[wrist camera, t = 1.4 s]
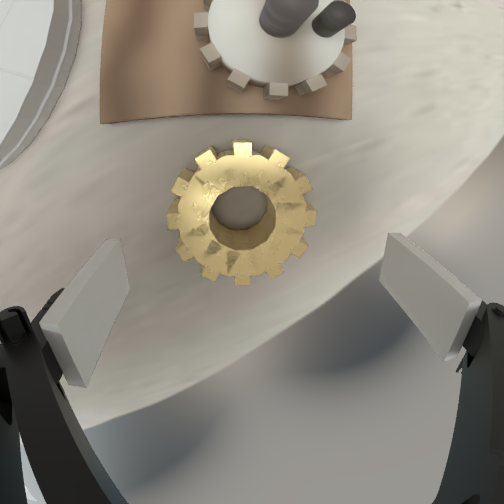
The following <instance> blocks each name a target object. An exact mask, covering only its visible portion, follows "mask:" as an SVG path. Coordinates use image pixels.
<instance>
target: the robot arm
mask: <svg viewBox="0 0 504 504" xmlns="http://www.w3.org/2000/svg"><path fill="white" fill-rule="evenodd" d="M379 281H380V282H381V284H382V285H383V286H384V287H385V288H386V289H387V290H388V292H389V293H390V294H391V295H392V296H393V298H394V299H395V300H396V301H397V303H398V304H399V305H400V306H401V307H402V308H403V310H404V311H405V312H406V314H407V315H408V316H409V317H410V318H411V320H412V321H413V322H414V323H415V325H416V326H417V327H418V328H419V330H420V331H421V332H422V334H423V335H424V336H425V338H426V339H427V340H428V341H429V343H430V344H431V345H432V347H433V348H434V349H435V351H436V352H437V353H438V355H439V356H440V357H441V359H442V360H443V361H446V360H450V359H453V358H456V357H457V355H458V353H459V351H460V349H461V347H462V345H463V347H464V348H465V349H466V350H467V351H466V353H465V355H464V357H463V358H462V361H461V362H460V364H459V366H458V368H457V370H456V372H458V371H459V370H460V369H461V368H462V372H461V374H462V379H461V389H460V396H459V404H458V411H457V417H456V423H455V428H454V433H453V438H452V443H451V448H450V452H449V456H448V460H447V464H446V468H445V472H444V475H443V478H442V482H441V485H440V489H439V491H438V494H437V497H436V499H435V500H434V502H433V503H432V504H504V306H502V305H500V304H498V303H489V304H488V305H487V304H486V303H485V302H484V301H482V300H481V299H480V298H479V297H478V296H477V295H476V294H475V293H474V292H472V291H471V290H470V289H469V288H468V287H467V286H465V285H464V284H463V283H462V282H461V281H460V280H459V279H457V278H456V277H455V276H454V275H453V274H451V273H450V272H449V271H448V270H447V269H445V268H444V267H443V266H442V265H441V264H439V263H438V262H437V261H436V260H434V259H433V258H432V257H431V256H429V255H428V254H427V253H426V252H424V251H423V250H422V249H420V248H419V247H418V246H417V245H415V244H414V243H413V242H411V241H410V240H409V239H407V238H406V237H405V236H403V235H402V234H401V233H388V237H387V242H386V248H385V253H384V258H383V263H382V268H381V273H380V277H379ZM129 291H130V285H129V280H128V275H127V270H126V265H125V259H124V254H123V248H122V242H121V238H120V239H106V240H105V242H104V243H103V244H102V245H101V246H100V247H99V248H98V249H97V251H96V252H95V253H94V254H93V255H92V256H91V257H90V259H89V260H88V261H87V262H86V263H85V265H84V266H83V267H82V268H81V269H80V270H79V272H78V273H77V274H76V275H75V277H74V278H73V279H72V280H71V281H70V283H69V284H68V285H67V286H66V288H62V289H60V290H59V291H57V292H56V293H55V294H53V295H52V296H51V298H50V299H49V300H48V301H47V304H45V305H44V307H43V308H42V310H40V312H39V313H38V314H37V316H36V317H35V318H34V320H33V321H32V322H31V323H30V321H29V319H28V316H27V314H26V311H25V310H24V308H22V307H20V306H13V307H10V308H7V309H5V310H3V311H1V312H0V341H1V343H2V344H0V504H27V498H26V493H25V486H24V480H23V472H22V463H21V452H20V436H19V432H20V435H21V438H22V442H23V445H24V448H25V451H26V454H27V456H28V460H29V462H30V465H31V468H32V471H33V473H34V476H35V478H36V481H37V483H38V485H39V488H40V490H41V492H42V495H43V497H44V499H45V501H46V503H47V504H128V503H127V501H126V500H125V499H124V497H123V496H122V494H121V493H120V492H119V490H118V489H117V488H116V486H115V484H114V483H113V481H112V480H111V478H110V477H109V475H108V474H107V472H106V471H105V469H104V467H103V466H102V464H101V462H100V461H99V459H98V457H97V456H96V454H95V452H94V451H93V449H92V447H91V445H90V443H89V442H88V440H87V438H86V436H85V434H84V432H83V430H82V428H81V426H80V424H79V422H78V420H77V418H76V416H75V414H74V412H73V410H72V408H71V406H70V404H69V401H68V399H67V397H66V395H65V392H64V390H63V388H62V386H61V384H60V382H59V380H60V378H61V376H62V374H63V375H64V377H65V379H66V380H67V382H68V384H69V385H73V386H79V387H86V388H87V386H88V383H89V381H90V378H91V376H92V373H93V371H94V368H95V366H96V363H97V361H98V358H99V356H100V354H101V351H102V349H103V347H104V344H105V342H106V340H107V338H108V335H109V333H110V331H111V329H112V327H113V324H114V322H115V320H116V318H117V316H118V314H119V311H120V309H121V307H122V305H123V303H124V301H125V299H126V297H127V295H128V293H129Z"/></svg>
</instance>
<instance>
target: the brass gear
mask: <svg viewBox="0 0 504 504" xmlns="http://www.w3.org/2000/svg"><path fill="white" fill-rule="evenodd" d="M289 159H290V158H289V157H287V156H285V155H284V154H282V153H281V152H279V151H277V150H276V149H273V148H271V147H269V146H267V145H266V146H265V148H264V149H263V151H262V152H261V154H260V153H258V152H256V151H255V150H252V143H251V142H249V141H248V140H232V150H224V151H222V152H221V153H219V154H217V153H216V151H215V150H214V148H213V146H210V147H209V148H207V149H205V150H204V151H202V152H200V153H199V154H198V155H197V157H196V158H195V160H196V162H197V163H198V165H199V166H198V167H197V169H196V171H195V172H193V171H191V170H189V169H187V168H185V169H184V170H183V172H182V173H181V174H180V175H179V177H178V178H177V180H176V182H175V184H174V186H173V188H172V190H171V192H172V193H174V194H176V195H178V196H180V197H182V198H181V199H175V200H174V202H173V203H172V205H171V207H170V209H169V210H168V212H167V214H166V216H167V227H168V230H176V229H179V230H180V238H179V241H178V244H177V247H176V251H177V253H178V254H179V256H180V257H181V258H182V260H183V261H184V262H186V261H187V260H189V259H191V258H193V257H194V258H195V259H196V260H197V262H198V263H199V264H201V265H202V270H201V276H203V277H205V278H207V279H210V280H212V281H214V282H215V280H216V279H217V277H218V275H219V274H220V273H221V274H223V275H225V276H234V278H235V286H245V285H250V284H251V276H253V275H258V274H259V275H260V274H262V273H264V272H266V273H267V274H268V276H269V278H270V279H273V278H275V277H277V276H278V275H280V274H282V273H284V271H283V268H282V266H281V264H280V263H282V262H284V261H286V260H287V258H288V257H289V255H290V254H293V255H294V256H296V257H298V258H300V257H301V256H302V254H303V253H304V251H305V250H306V248H307V247H308V245H307V243H306V242H305V240H304V239H303V237H302V236H303V234H304V226H315V225H316V213H317V210H316V209H315V208H313V207H312V206H311V205H310V204H309V203H308V202H307V201H306V200H305V199H304V197H303V196H302V195H303V194H305V193H307V192H309V191H311V190H312V187H311V185H310V183H309V181H308V179H307V177H306V175H305V174H303V173H301V172H300V171H298V170H297V169H295V168H293V167H292V166H291V167H289V168H288V169H284V167H285V165H286V164H287V162H288V160H289ZM245 186H252V187H254V188H256V189H258V190H259V191H261V192H263V193H265V194H266V195H267V211H266V212H265V214H264V216H263V217H262V219H261V221H260V222H259V223H258V224H256V225H254V226H252V227H251V228H249V229H247V230H230V229H228V228H227V227H225V226H223V225H221V224H219V223H218V221H217V220H216V218H215V217H214V215H213V214H212V212H211V207H212V205H213V203H214V201H215V200H216V198H217V196H218V195H220V194H222V193H224V192H225V191H227V190H229V189H230V188H232V187H245Z"/></svg>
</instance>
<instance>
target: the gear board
mask: <svg viewBox="0 0 504 504" xmlns="http://www.w3.org/2000/svg"><path fill="white" fill-rule="evenodd" d="M355 18H356V14H355V11H354V9H353V8H352V7H351V6H350V0H107V2H106V9H105V17H104V26H103V37H102V50H101V68H100V124H111V123H117V122H125V121H132V120H141V119H150V118H161V117H173V116H188V115H209V114H272V115H293V116H308V117H320V118H331V119H340V120H352V42H354V41H356V40H357V35H356V26H354V25H351V23H353V22H354V20H355Z"/></svg>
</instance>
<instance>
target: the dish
mask: <svg viewBox="0 0 504 504" xmlns="http://www.w3.org/2000/svg"><path fill="white" fill-rule="evenodd" d="M80 29H81V0H0V168H1V167H3V166H5V165H7V164H9V163H11V162H12V161H13V160H14V159H15V158H16V157H17V156H18V155H19V154H20V153H21V152H22V151H23V150H24V149H25V148H27V147H28V146H29V145H30V144H31V142H32V141H33V139H34V138H35V136H36V135H37V133H38V132H39V131H40V129H41V128H42V126H43V125H44V124H45V122H46V121H47V120H48V118H49V116H50V114H51V112H52V110H53V108H54V106H55V104H56V102H57V100H58V98H59V96H60V95H61V93H62V91H63V89H64V87H65V84H66V81H67V78H68V75H69V72H70V69H71V66H72V64H73V61H74V58H75V56H76V50H77V45H78V39H79V34H80Z"/></svg>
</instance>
